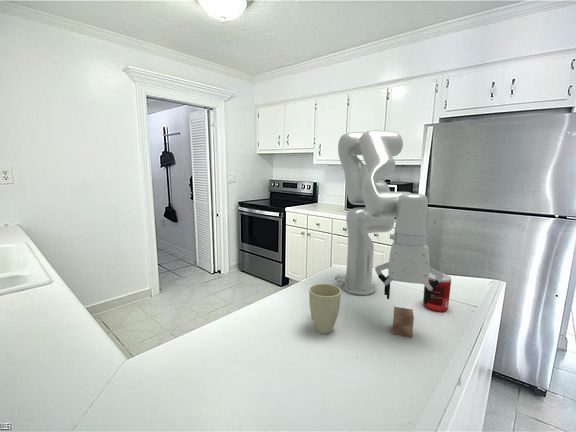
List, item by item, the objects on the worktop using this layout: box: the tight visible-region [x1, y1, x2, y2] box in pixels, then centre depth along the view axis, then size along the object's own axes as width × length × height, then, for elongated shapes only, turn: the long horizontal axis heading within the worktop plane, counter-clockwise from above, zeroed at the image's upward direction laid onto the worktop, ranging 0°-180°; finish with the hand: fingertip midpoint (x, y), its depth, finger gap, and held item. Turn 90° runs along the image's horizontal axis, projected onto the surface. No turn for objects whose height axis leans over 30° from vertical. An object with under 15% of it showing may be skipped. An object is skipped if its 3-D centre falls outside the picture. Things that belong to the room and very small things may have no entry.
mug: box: [308, 283, 342, 335], centre depth 84 cm, size 11×10×12 cm
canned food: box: [422, 272, 452, 313], centre depth 97 cm, size 8×8×11 cm
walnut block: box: [392, 306, 415, 338], centre depth 83 cm, size 5×5×6 cm
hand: (406, 299), depth 81 cm, fingers open, 9 cm apart
